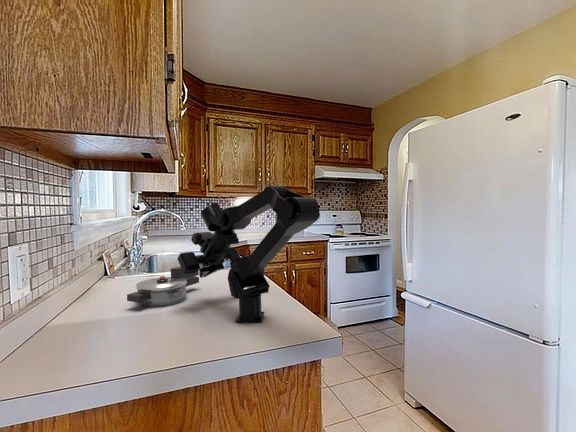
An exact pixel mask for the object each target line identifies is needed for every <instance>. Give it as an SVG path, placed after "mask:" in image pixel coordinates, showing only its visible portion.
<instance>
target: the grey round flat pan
mask: <svg viewBox="0 0 576 432" xmlns="http://www.w3.org/2000/svg"><path fill="white" fill-rule="evenodd" d="M198 283H200V276H194V277H191V278H187V284H186V285H184V286H182V287H179V288H176V289H171V290H165V291H140V290H137V291H134V292H131V293H128V294H126V301H127V302H132V303H137V305H138V306H139V307H142V308H152V309H153V308H164V307H169V306H170V307H171V306H174V305H177V304H180V303H182V302H184V301H186V299H187V287H189V286H192V285H196V284H198Z"/></svg>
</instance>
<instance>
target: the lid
mask: <svg viewBox="0 0 576 432" xmlns="http://www.w3.org/2000/svg"><path fill="white" fill-rule="evenodd" d="M194 276H196V277H199V270H198V271H197V272H195V273H191V274H185V273H183V271H182V268H181V266H180V265H179V266H175V267H172V268H170V276H164V275H160V276H159V277H154V278H149V279H145V280H141V281H140V282H137V283H136V284H135V288H136V290H137V291H138V290H140V291H165V290H171V289H176V288H179V287H182V286H184V285H186V284H187V278H191V277H194Z"/></svg>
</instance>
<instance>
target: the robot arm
mask: <svg viewBox="0 0 576 432" xmlns="http://www.w3.org/2000/svg"><path fill="white" fill-rule="evenodd" d="M268 210H272V211H273V212H274V213H275V224H273V226H272V227H271V229H270V230H269V231H268V232H267V234H265V236H264V237H263V238H262V240H261V241H260V242H259V244H257V246H256V247H255V248H254V250H253V251H252V252H251V253H250V255H246V256H240V254H239V252H238V250H237V248H236V247H235V246H231V245H236V244H239V243H240V241H239V237H238V234H237V233H236V231H239V230H244V229H245V228H247V227H248V226H249V225H250V224H251V223H252V220H253V219H255V218H256V217H258V216H259V215H262V214H263V213H265V212H267V211H268ZM320 210H321V209H320V205H319V203H318V201H317V200H316V199H315V198H313V197H306V196H305V195H302V194H299V193H297V192H294V191H292V190H291V189H288V188H287V187H285V186H283V185H267V186H266V187H265V188H264V189H263V190H261V191H260V192H259V193H256V194H255V195H254V196H253V197H251V198H249V199H247V200H246V201H244V202H242V203H241V204H239V205H236V206H235V205H234V206H229V207H226V208H223V209H221V207H220V204H219V202H211V204H210V205H208V206H206V207H204V208H203V209H202V210H201V212H200V216H201V218H202V220H203V222H204V224H205V226H206V228H207V230H208V231H203V232H194V233H193V234H192V236H191V243H192V244H193V245H197V246H199V247H200V249H199V251H200V253H201V254H199V255H197V254H195V251H194V252H193V251H188V252H187V251H186V252H180V253H179V255H178V257H177V261H178V263H179V266H181V268H182V271H183V273H185V274H191V273H195V272H197V271H198V270H199V275H198V277H199V279H202V278H206V277H208V276H211V275H212V274H215V273H216V272H219V271H221V270H224V269H225V266H224V263H225V262H229V261H230V262H229V265H230V266H229V267H230V269H229V271H228V273H227V282H228V287H229V291H230V295H231V297H233V299H235V300H237V299H238V315H237V317H236V319H235V323H262V322H263V319H264V315H265V311H262V295H263V294H266V293H269V290H270V284H269V281H267V279H266V277H265V274H266V273H265V268H266V267H267V265H269V264H270V262H271V261H272V260H274V258H275V257H276V256H277V254H279V253H280V251H281V250H282V249H283V248H284V247H285V246H286V244H288V242H289V241H291V239H292V238H293V237H294V235H296V234H298V233H300V232H302V231H304V230H306V229H308V228H309V227H311V226H312V225H313V224H314V223H316V222H317V221H318V220H319V218H320V215H321V213H320V212H321V211H320ZM250 286H255V287H252V288H248V289H247V287H250Z"/></svg>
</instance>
